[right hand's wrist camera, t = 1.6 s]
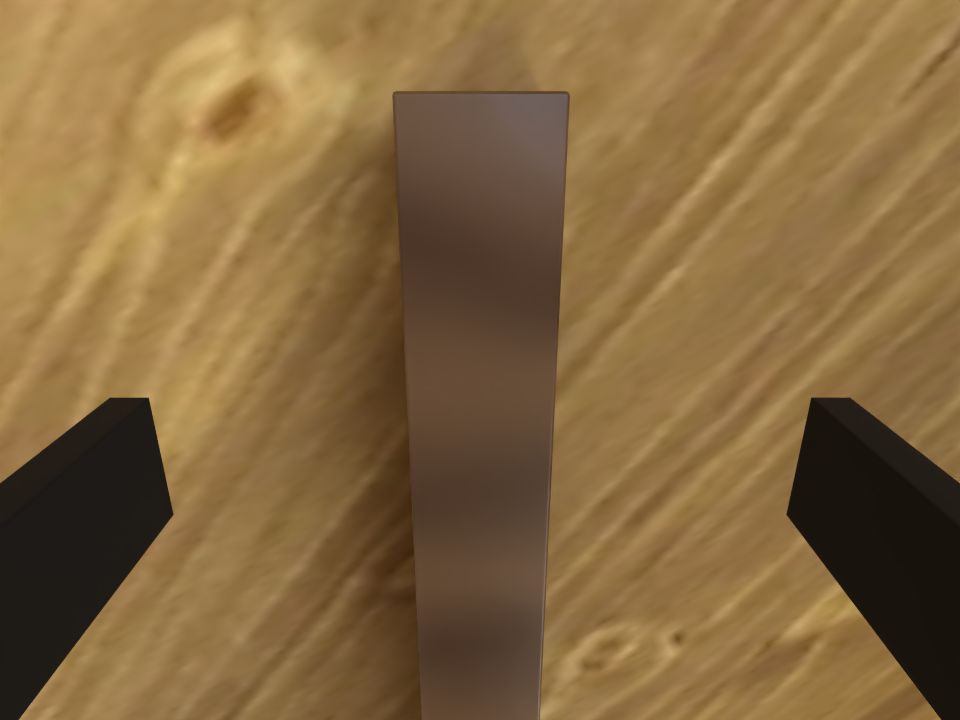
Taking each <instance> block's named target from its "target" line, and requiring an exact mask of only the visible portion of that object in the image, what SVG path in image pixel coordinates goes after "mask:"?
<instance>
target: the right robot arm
mask: <svg viewBox="0 0 960 720" xmlns="http://www.w3.org/2000/svg"><path fill="white" fill-rule="evenodd" d="M172 516H173V510H172V506H171V501H170V496H169V491H168V487H167V482H166V477H165V473H164V468H163V463H162V458H161V454H160V449H159V444H158V440H157V435H156V430H155V425H154V421H153V416H152V411H151V407H150V402H149V398H109V399H108V400H106V401H105V402H104V403H103V404H101V405H100V406H99V407H97V408H96V409H95V410H94V411H92V412H91V413H90V414H89V415H87V416H86V417H85V418H83V419H82V420H81V421H80V422H78V423H77V424H76V425H74V426H73V427H72V428H71V429H69V430H68V431H67V432H65V433H64V434H63V435H62V436H60V437H59V438H58V439H57V440H55V441H54V442H53V443H51V444H50V445H49V446H48V447H46V448H45V449H44V450H42V451H41V452H40V453H39V454H37V455H36V456H35V457H33V458H32V459H31V460H30V461H28V462H27V463H26V464H24V465H23V466H22V467H21V468H19V469H18V470H17V471H16V472H14V473H13V474H12V475H10V476H9V477H8V478H7V479H5V480H4V481H3V482H1V483H0V720H19V718H20V717H21V716H22V715H23V713H24V712H25V711H26V709H27V708H28V707H29V705H30V704H31V703H32V701H33V700H34V699H35V697H36V696H37V695H38V693H39V692H40V691H41V689H42V688H43V687H44V685H45V684H46V683H47V681H48V680H49V679H50V677H51V676H52V675H53V673H54V672H55V671H56V669H57V668H58V667H59V666H60V664H61V663H62V662H63V660H64V659H65V658H66V656H67V655H68V654H69V652H70V651H71V650H72V648H73V647H74V646H75V644H76V643H77V642H78V640H79V639H80V638H81V636H82V635H83V634H84V632H85V631H86V630H87V628H88V627H89V626H90V624H91V623H92V622H93V621H94V619H95V618H96V617H97V615H98V614H99V613H100V611H101V610H102V609H103V607H104V606H105V605H106V603H107V602H108V601H109V599H110V598H111V597H112V595H113V594H114V593H115V591H116V590H117V589H118V587H119V586H120V585H121V583H122V582H123V581H124V579H125V578H126V577H127V575H128V574H129V573H130V572H131V570H132V569H133V568H134V566H135V565H136V564H137V562H138V561H139V560H140V558H141V557H142V556H143V554H144V553H145V552H146V550H147V549H148V548H149V546H150V545H151V544H152V542H153V541H154V540H155V538H156V537H157V536H158V534H159V533H160V532H161V530H162V529H163V528H164V527H165V525H166V524H167V523H168V521H169V520H170V519H171V517H172ZM787 516H788V517H789V519H790V520H791V521H792V523H793V524H794V525H795V527H796V528H797V529H798V530H799V532H800V533H801V534H802V536H803V537H804V538H805V540H806V541H807V542H808V544H809V545H810V546H811V548H812V549H813V550H814V552H815V553H816V554H817V556H818V557H819V558H820V560H821V561H822V562H823V564H824V565H825V566H826V568H827V569H828V570H829V572H830V573H831V574H832V575H833V577H834V578H835V579H836V581H837V582H838V583H839V585H840V586H841V587H842V589H843V590H844V591H845V593H846V594H847V595H848V597H849V598H850V599H851V601H852V602H853V603H854V605H855V606H856V607H857V609H858V610H859V611H860V613H861V614H862V615H863V617H864V618H865V619H866V621H867V622H868V623H869V624H870V626H871V627H872V628H873V630H874V631H875V632H876V634H877V635H878V636H879V638H880V639H881V640H882V642H883V643H884V644H885V646H886V647H887V648H888V650H889V651H890V652H891V654H892V655H893V656H894V658H895V659H896V660H897V662H898V663H899V664H900V666H901V667H902V668H903V669H904V671H905V672H906V673H907V675H908V676H909V677H910V679H911V680H912V681H913V683H914V684H915V685H916V687H917V688H918V689H919V691H920V692H921V693H922V695H923V696H924V697H925V699H926V700H927V701H928V703H929V704H930V705H931V707H932V708H933V709H934V711H935V712H936V713H937V715H938V716H939V717H940V718H941V720H960V483H959V482H957V481H956V480H955V479H953V478H952V477H951V476H950V475H948V474H947V473H946V472H944V471H943V470H942V469H941V468H939V467H938V466H937V465H936V464H934V463H933V462H932V461H930V460H929V459H928V458H927V457H925V456H924V455H923V454H921V453H920V452H919V451H918V450H916V449H915V448H914V447H912V446H911V445H910V444H909V443H907V442H906V441H905V440H903V439H902V438H901V437H900V436H898V435H897V434H896V433H895V432H893V431H892V430H891V429H889V428H888V427H887V426H886V425H884V424H883V423H882V422H880V421H879V420H878V419H877V418H875V417H874V416H873V415H871V414H870V413H869V412H868V411H866V410H865V409H864V408H863V407H861V406H860V405H859V404H857V403H856V402H855V401H854V400H852V399H851V398H811V402H810V407H809V411H808V416H807V421H806V425H805V430H804V435H803V440H802V444H801V449H800V454H799V458H798V463H797V468H796V473H795V477H794V482H793V487H792V491H791V496H790V501H789V506H788V510H787Z"/></svg>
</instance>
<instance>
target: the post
mask: <svg viewBox="0 0 960 720" xmlns="http://www.w3.org/2000/svg"><path fill="white" fill-rule="evenodd" d="M392 97H393V119H394V140H395V161H396V183H397V204H398V225H399V247H400V268H401V290H402V311H403V332H404V354H405V375H406V396H407V418H408V439H409V460H410V482H411V503H412V524H413V546H414V567H415V588H416V610H417V631H418V652H419V674H420V695H421V717H422V720H540V700H541V680H542V659H543V638H544V618H545V597H546V576H547V556H548V535H549V514H550V494H551V473H552V452H553V432H554V411H555V390H556V370H557V349H558V328H559V307H560V287H561V266H562V245H563V225H564V204H565V183H566V163H567V142H568V121H569V101H570V95H569V92H566V91H396V92H393V95H392Z"/></svg>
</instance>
